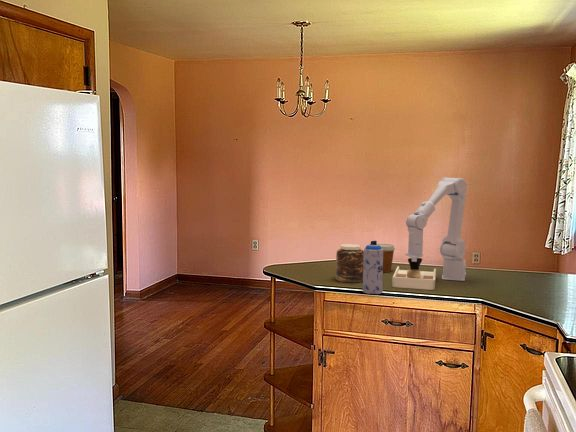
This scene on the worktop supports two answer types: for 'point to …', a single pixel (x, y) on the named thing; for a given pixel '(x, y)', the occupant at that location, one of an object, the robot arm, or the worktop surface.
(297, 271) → the worktop surface
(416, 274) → the maple block
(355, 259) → the jar
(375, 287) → the aerosol can
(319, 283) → the worktop surface
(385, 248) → the disposable coffee cup
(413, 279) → the trap box
